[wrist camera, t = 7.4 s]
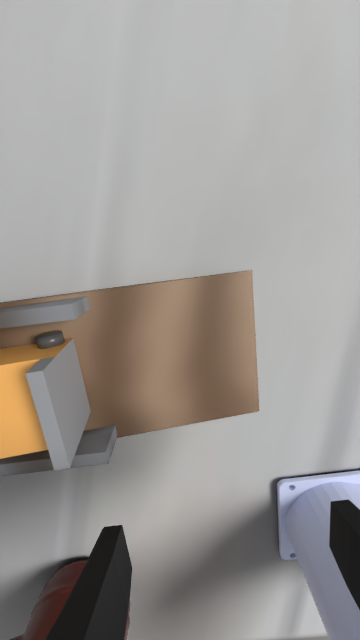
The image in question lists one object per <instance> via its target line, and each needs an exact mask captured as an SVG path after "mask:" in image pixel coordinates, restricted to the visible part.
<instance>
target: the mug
mask: <svg viewBox="0 0 360 640" xmlns="http://www.w3.org/2000/svg"><path fill="white" fill-rule="evenodd" d="M87 560H88V559H84V560H78V561H75V562H72V563H70V564H68V565H65V566H64V567H62V568H60V569H59V570H58V571H56V572H55V573H54V574H53V576H52V577H51V578H50V580H49V581H48V583H47V585H46V587H45V588H44V590H43V591H42V593H41V595H40V597H39V601H38V603H37V604H36V606H35V607H34V609H33V611H32V615H31V619H30V621H29V624H28V626H27V629H26V631H25V633H24V634H23V635H21V636H18V637H15V638H13V639H10V640H44V639H45V638H46V636H47V634H48V633H49V631H50V629H51V627H52V626H53V624H54V622H55V620H56V619H57V617H58V615H59V613H60V611H61V610H62V608H63V606H64V604H65V602H66V600H67V598H68V597H69V595H70V593H71V591H72V589H73V587H74V585H75V584H76V582H77V580H78V578H79V576H80V574H81V572H82V570H83V568H84V566H85V564H86V562H87ZM129 612H130V599H129V610H128V617H127V623H126V629H125V636H124V640H127V634H128V629H129V624H130V617H129Z"/></svg>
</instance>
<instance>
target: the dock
mask: <svg viewBox="0 0 360 640" xmlns="http://www.w3.org/2000/svg"><path fill="white" fill-rule="evenodd" d="M56 330H61V331H62V332H63V336H64V339H69V338H73V339H74V343H75V347H76V351H77V356H78V360H79V364H80V368H81V372H82V377H83V381H84V385H85V389H86V393H87V398H88V402H89V406H90V410H91V412H90V415H89V418H88V420H87V423H86V427H85V429H84V431H83V434H82V436H81V439H80V442H79V445H78V447H77V450H76V453H75V455H74V458H73V461H72V464H71V466H70V468H74V467H83V466H91V465H100V464H108V463H109V460H110V457H111V454H112V451H113V447H114V444H115V441H116V438H118V437H124V436H129V435H134V434H140V433H145V432H150V431H156V430H161V429H166V428H172V427H177V426H182V425H188V424H193V423H198V422H204V421H209V420H214V419H220V418H225V417H230V416H236V415H241V414H246V413H252V412H257V411H259V397H258V378H257V358H256V339H255V320H254V300H253V281H252V270H250V271H242V272H234V273H226V274H218V275H210V276H202V277H194V278H186V279H178V280H170V281H162V282H154V283H146V284H138V285H130V286H122V287H114V288H106V289H99V290H91V291H84V292H77V293H69V294H62V295H54V296H47V297H40V298H32V299H25V300H18V301H10V302H3V303H0V349H3V348H9V347H16V346H23V345H29V344H36V340H35V337H36V336H37V335H39V334H42V333H45V332H49V331H56ZM48 470H54V468H53V464H52V461H51V458H50V454H49V451H48V450H44V451H39V452H34V453H28V454H23V455H18V456H12V457H7V458H2V459H0V476H6V475H14V474H23V473H31V472H40V471H48Z"/></svg>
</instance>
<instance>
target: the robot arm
mask: <svg viewBox="0 0 360 640" xmlns="http://www.w3.org/2000/svg"><path fill="white" fill-rule="evenodd" d="M290 485H291V486H290ZM277 500H278V529H279V553H280V556H281V558H282V559H283V560H294V559H298V562H299V564H300V567H301V569H302V572H303V574H304V577H305V579H306V582H307V584H308V587H309V589H310V592H311V594H312V597H313V599H314V602H315V604H316V606H317V609H318V611H319V614H320V616H321V619H322V621H323V624H324V626H325V629H326V631H327V634H328V636H329V639H330V640H360V470H359V471H350V472H341V473H333V474H324V475H315V476H307V477H298V478H289V479H282V480H280V481H279V482H278V483H277ZM131 575H132V566H131V561H130V557H129V553H128V548H127V544H126V540H125V535H124V531H123V527H122V525H118V526H109V527H104V528H103V529H102V531H101V533H100V535H99V538H98V540H97V542H96V544H95V546H94V548H93V550H92V552H91V554H90V556H89V558H88V560H87V562H86V564H85V566H84V568H83V570H82V572H81V574H80V576H79V578H78V580H77V582H76V584H75V585H74V587H73V589H72V591H71V593H70V595H69V597H68V598H67V600H66V602H65V604H64V606H63V608H62V610H61V611H60V613H59V615H58V617H57V619H56V620H55V622H54V624H53V626H52V627H51V629H50V631H49V633H48V634H47V636H46V638H45V639H44V640H124V636H125V629H126V623H127V617H128V610H129V599H130V587H131Z"/></svg>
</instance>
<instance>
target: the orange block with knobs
mask: <svg viewBox="0 0 360 640" xmlns="http://www.w3.org/2000/svg"><path fill="white" fill-rule="evenodd" d="M35 340H36V344H29V345H23V346H16V347H9V348H3V349H0V459H2V458H7V457H12V456H18V455H23V454H28V453H34V452H39V451H44V450H48V451H49V454H50V458H51V461H52V464H53V468H54V471H57V470H62V469H67V468H70V466H71V464H72V461H73V458H74V455H75V453H76V450H77V447H78V445H79V442H80V439H81V436H82V434H83V431H84V429H85V427H86V423H87V420H88V418H89V415H90V412H91V410H90V406H89V402H88V398H87V393H86V389H85V385H84V381H83V377H82V372H81V368H80V364H79V360H78V356H77V351H76V347H75V343H74V339H73V338H69V339H64V336H63V332H62V331H61V330H56V331H49V332H45V333H42V334H39V335H37V336H36V337H35Z"/></svg>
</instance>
